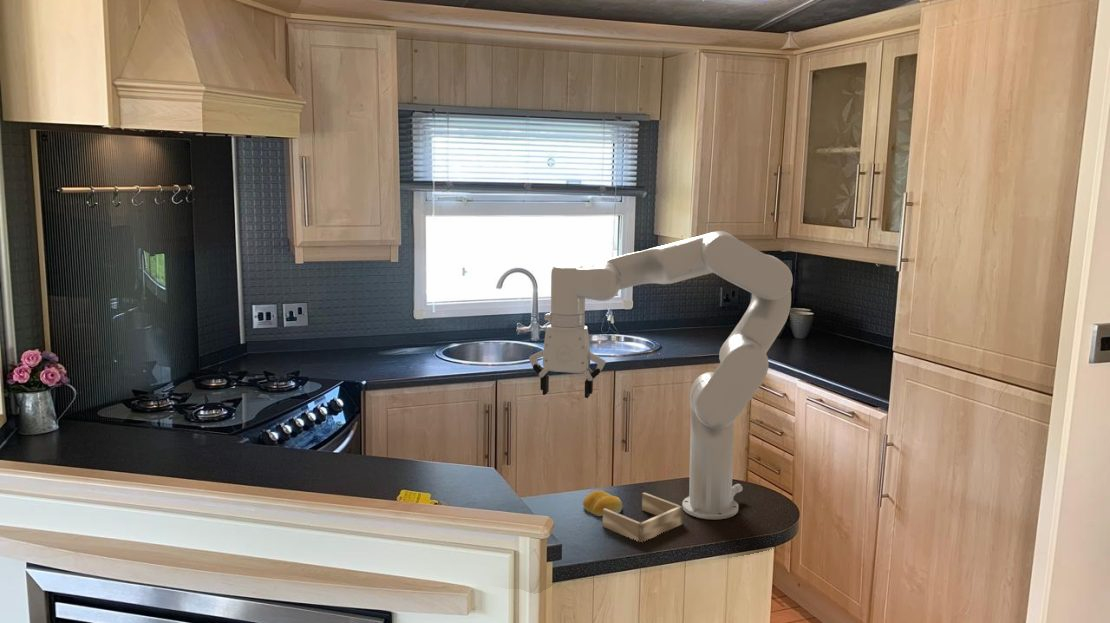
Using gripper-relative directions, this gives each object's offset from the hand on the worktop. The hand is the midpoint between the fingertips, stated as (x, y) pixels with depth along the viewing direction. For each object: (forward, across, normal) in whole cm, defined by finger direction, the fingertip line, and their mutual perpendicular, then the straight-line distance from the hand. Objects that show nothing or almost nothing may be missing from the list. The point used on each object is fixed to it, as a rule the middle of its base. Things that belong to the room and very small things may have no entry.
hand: (566, 394), depth 195 cm
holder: (+26, +19, -7) cm, 33 cm away
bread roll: (+27, +9, 0) cm, 28 cm away
